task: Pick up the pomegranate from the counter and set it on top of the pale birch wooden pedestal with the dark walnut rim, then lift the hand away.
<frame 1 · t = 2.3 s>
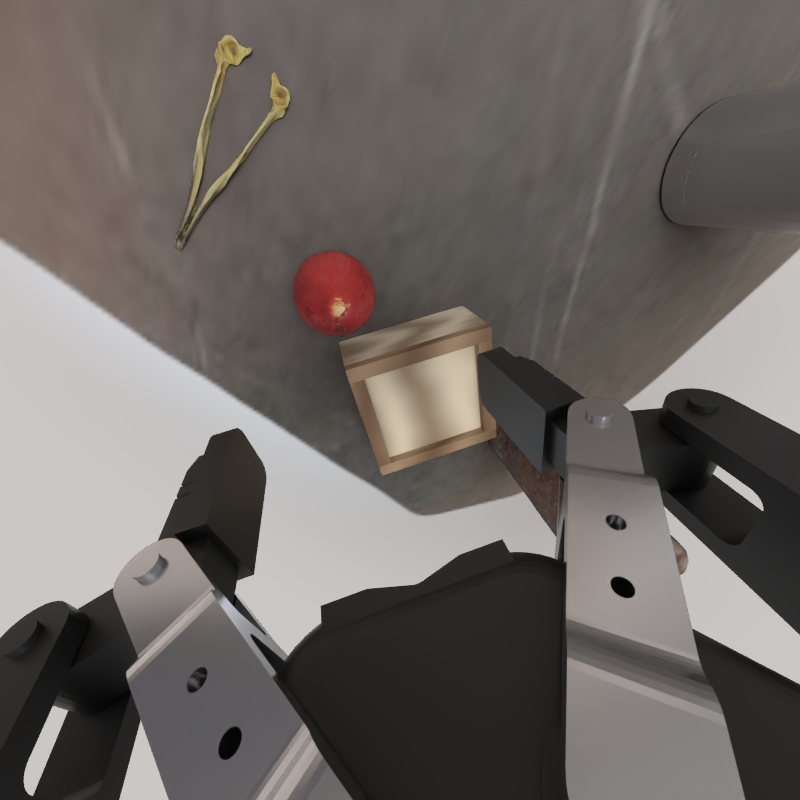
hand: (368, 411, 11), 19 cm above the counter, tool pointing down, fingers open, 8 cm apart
rusty metal cylinder: (509, 421, 40), on the counter
pomegranate: (331, 283, 27), on the counter
tongs: (225, 169, 22), on the counter
pedestal: (413, 377, 33), on the counter
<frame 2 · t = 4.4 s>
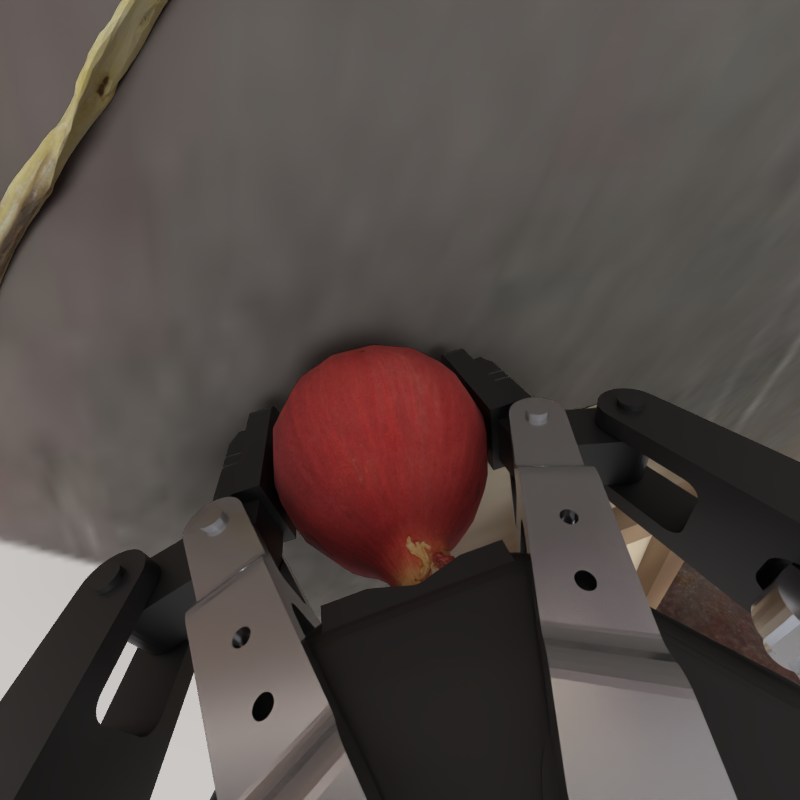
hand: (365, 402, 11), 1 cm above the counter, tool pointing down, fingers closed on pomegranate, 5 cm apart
rusty metal cylinder: (619, 545, 26), on the counter
pomegranate: (361, 383, 12), on the counter, touching gripper
tongs: (70, 136, 8), on the counter
pedestal: (493, 514, 19), on the counter
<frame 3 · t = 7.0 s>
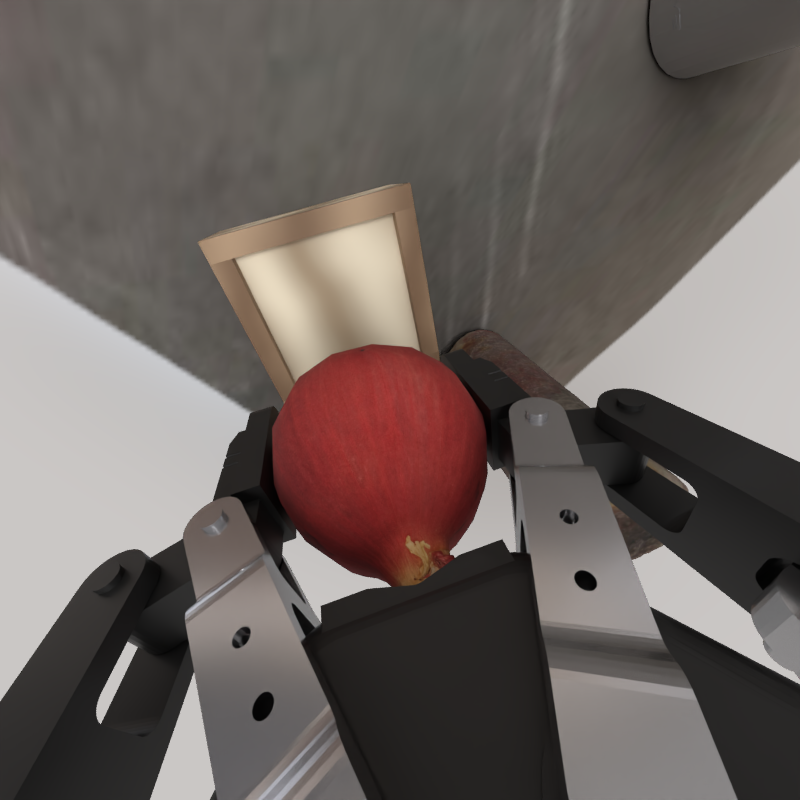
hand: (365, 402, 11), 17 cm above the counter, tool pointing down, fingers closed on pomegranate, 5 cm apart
rusty metal cylinder: (469, 362, 33), on the counter
pomegranate: (360, 382, 12), point 16 cm above the counter, touching gripper
pedestal: (334, 292, 26), on the counter
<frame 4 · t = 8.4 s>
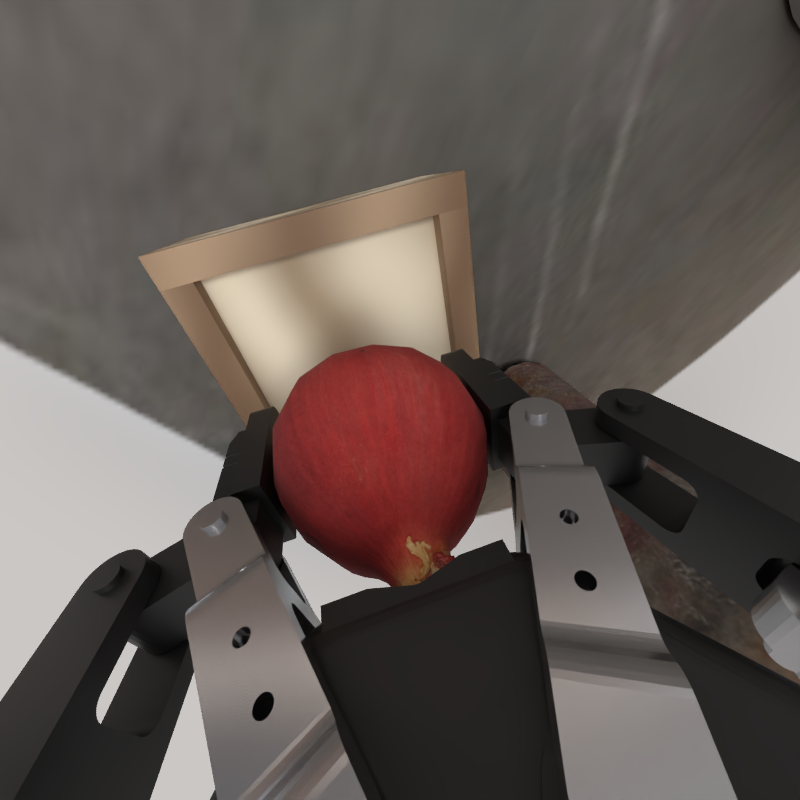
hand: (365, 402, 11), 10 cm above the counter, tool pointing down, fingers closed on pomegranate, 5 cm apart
rusty metal cylinder: (507, 398, 27), on the counter
pomegranate: (360, 382, 12), point 9 cm above the counter, touching gripper
pedestal: (344, 318, 20), on the counter
when the fingers open (7 cm above the counter, at t = 9.5 s): pomegranate drops 1 cm, resting on pedestal.
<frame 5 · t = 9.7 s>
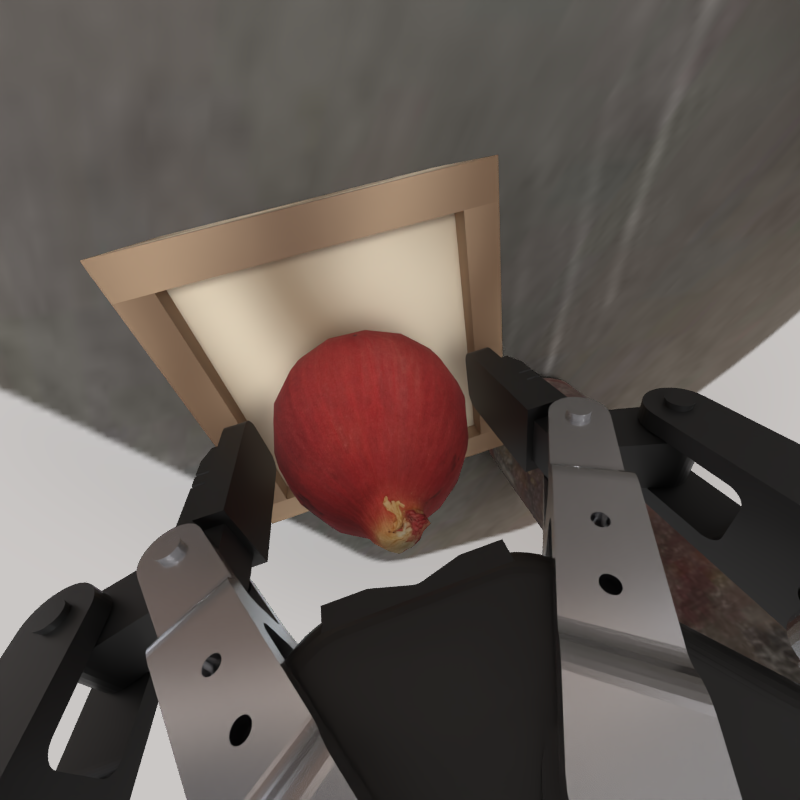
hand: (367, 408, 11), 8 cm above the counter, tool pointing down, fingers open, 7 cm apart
rusty metal cylinder: (521, 416, 24), on the counter
pomegranate: (359, 368, 13), point 5 cm above the counter, touching pedestal
pedestal: (343, 329, 17), on the counter
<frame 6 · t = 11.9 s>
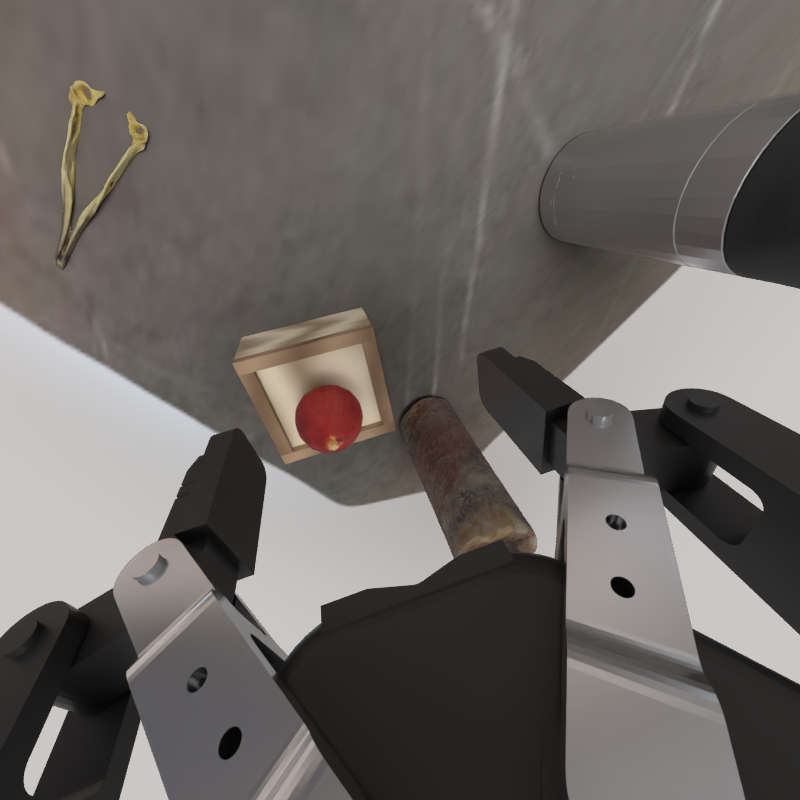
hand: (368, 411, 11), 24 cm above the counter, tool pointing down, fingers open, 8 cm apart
rusty metal cylinder: (423, 417, 43), on the counter
pomegranate: (326, 395, 32), point 5 cm above the counter, touching pedestal
tongs: (99, 195, 24), on the counter
pedestal: (321, 373, 35), on the counter
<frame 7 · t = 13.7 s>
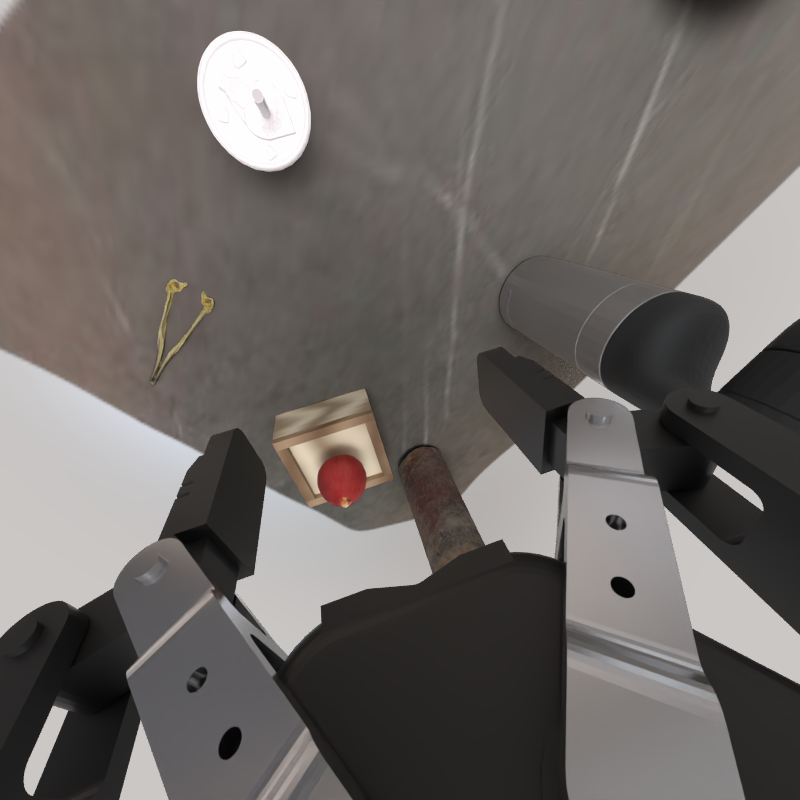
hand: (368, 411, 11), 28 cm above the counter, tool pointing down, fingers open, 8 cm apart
rusty metal cylinder: (418, 460, 53), on the counter
pomegranate: (339, 457, 42), point 5 cm above the counter, touching pedestal
tongs: (179, 338, 35), on the counter
pedestal: (335, 435, 46), on the counter
smoothie: (270, 131, 28), on the counter
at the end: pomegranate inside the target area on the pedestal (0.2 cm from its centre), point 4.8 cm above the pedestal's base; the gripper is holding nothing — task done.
